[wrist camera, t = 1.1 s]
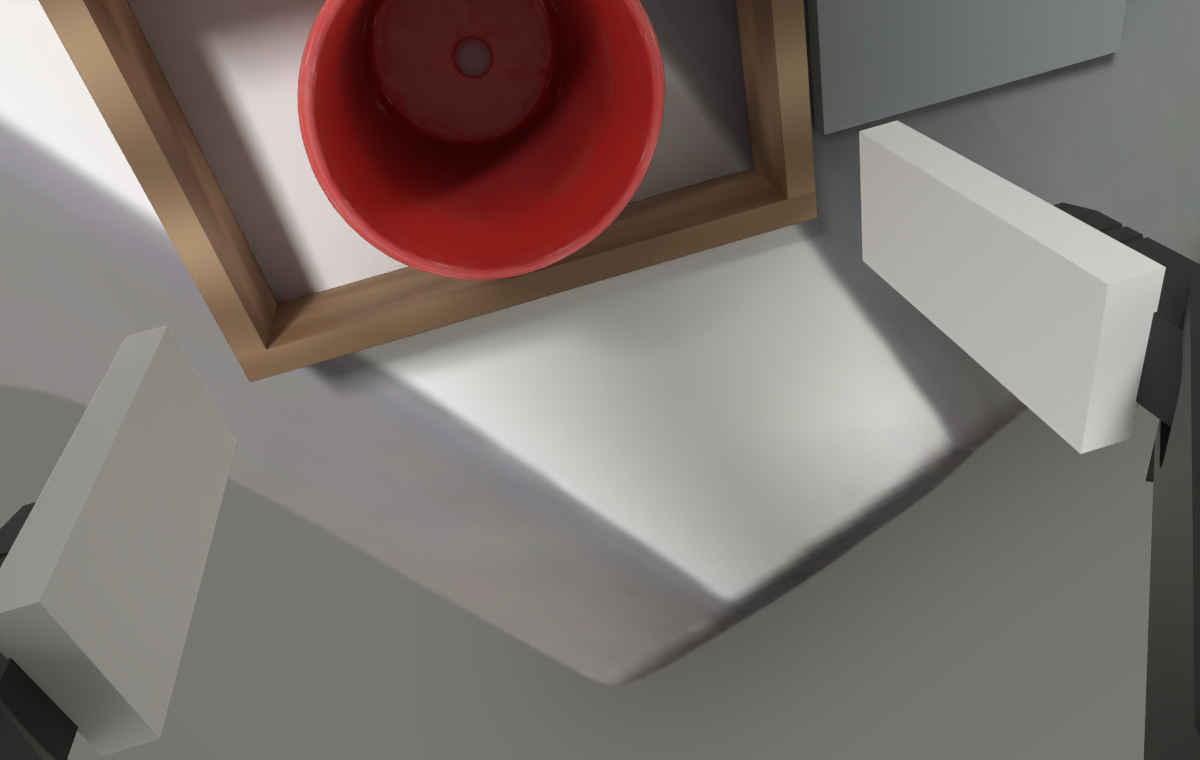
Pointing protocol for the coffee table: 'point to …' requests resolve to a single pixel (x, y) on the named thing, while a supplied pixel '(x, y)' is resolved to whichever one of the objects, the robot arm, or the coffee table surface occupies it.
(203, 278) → the frame
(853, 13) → the rubber mat
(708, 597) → the coffee table surface
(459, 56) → the flower pot
